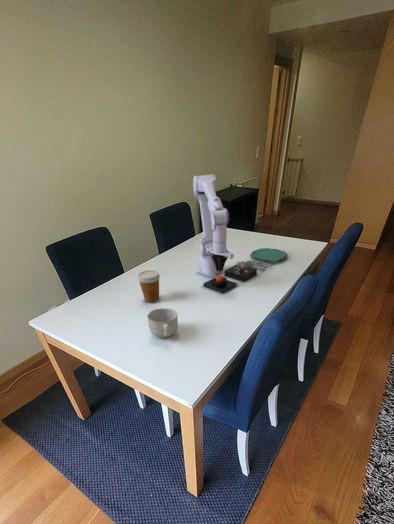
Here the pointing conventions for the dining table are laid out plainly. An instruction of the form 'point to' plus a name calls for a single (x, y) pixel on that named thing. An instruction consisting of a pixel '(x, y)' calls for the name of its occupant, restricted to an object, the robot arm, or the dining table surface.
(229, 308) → the dining table surface
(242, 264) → the oven dial
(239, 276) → the dial panel
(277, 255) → the green plate with cutlery
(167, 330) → the teacup
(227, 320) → the dining table surface
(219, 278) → the button
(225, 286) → the button housing
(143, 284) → the disposable coffee cup
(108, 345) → the dining table surface
